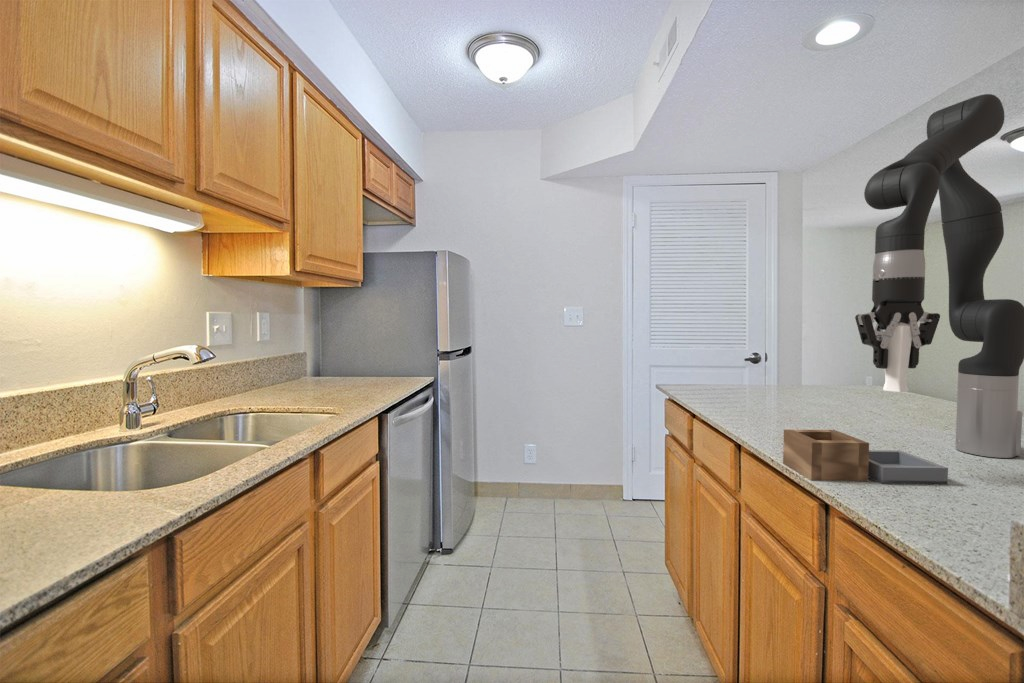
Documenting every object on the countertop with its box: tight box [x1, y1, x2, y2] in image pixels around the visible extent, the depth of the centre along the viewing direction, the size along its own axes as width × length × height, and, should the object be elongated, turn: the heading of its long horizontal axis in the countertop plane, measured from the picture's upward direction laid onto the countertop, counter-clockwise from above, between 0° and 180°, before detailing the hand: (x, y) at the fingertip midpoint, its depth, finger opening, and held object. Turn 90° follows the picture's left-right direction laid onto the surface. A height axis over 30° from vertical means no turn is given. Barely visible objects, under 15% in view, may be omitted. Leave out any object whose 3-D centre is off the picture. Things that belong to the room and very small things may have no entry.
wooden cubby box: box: [782, 429, 870, 482], centre depth 90 cm, size 10×10×7 cm
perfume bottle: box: [882, 322, 912, 393], centre depth 88 cm, size 5×4×15 cm
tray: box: [868, 449, 949, 486], centre depth 89 cm, size 11×11×3 cm
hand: (895, 367), depth 88 cm, fingers closed on perfume bottle, 4 cm apart
